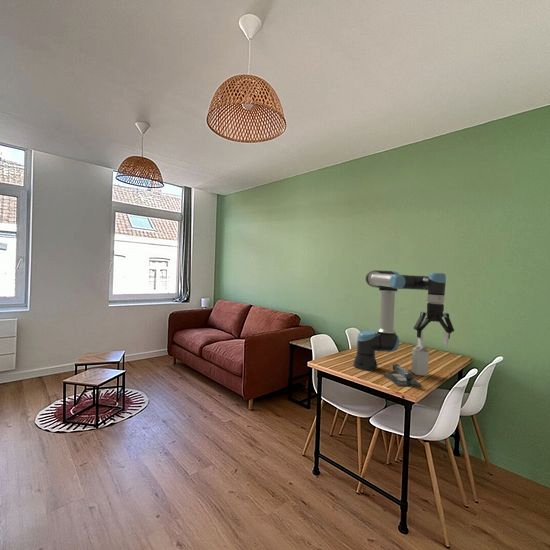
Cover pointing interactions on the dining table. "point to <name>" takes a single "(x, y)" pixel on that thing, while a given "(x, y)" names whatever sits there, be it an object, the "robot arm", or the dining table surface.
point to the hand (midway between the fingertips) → (432, 344)
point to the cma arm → (403, 371)
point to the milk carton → (420, 360)
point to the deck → (401, 380)
